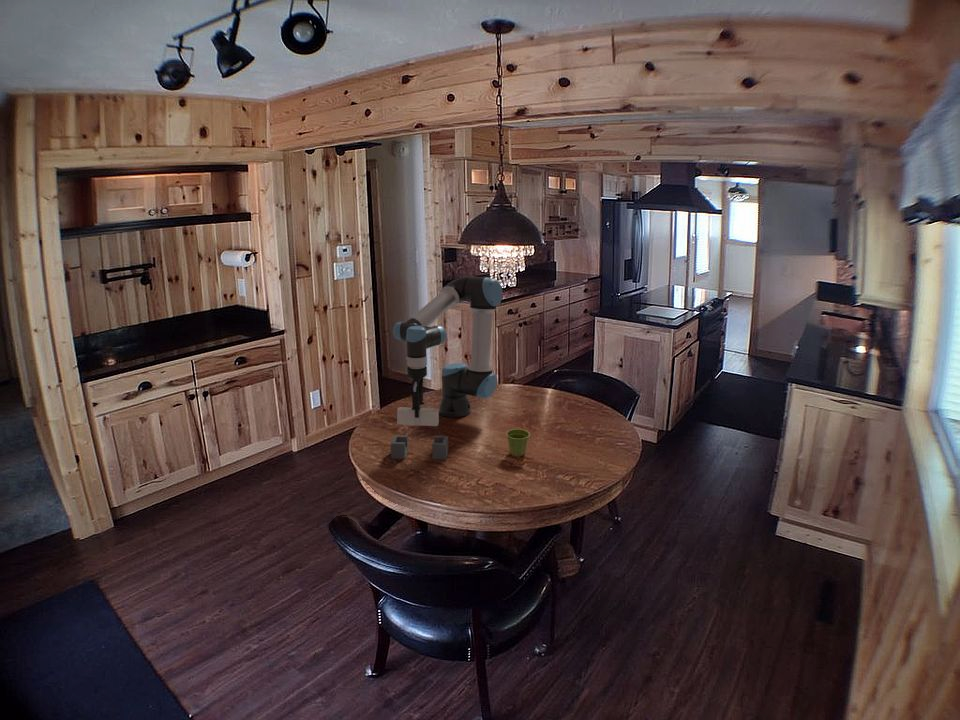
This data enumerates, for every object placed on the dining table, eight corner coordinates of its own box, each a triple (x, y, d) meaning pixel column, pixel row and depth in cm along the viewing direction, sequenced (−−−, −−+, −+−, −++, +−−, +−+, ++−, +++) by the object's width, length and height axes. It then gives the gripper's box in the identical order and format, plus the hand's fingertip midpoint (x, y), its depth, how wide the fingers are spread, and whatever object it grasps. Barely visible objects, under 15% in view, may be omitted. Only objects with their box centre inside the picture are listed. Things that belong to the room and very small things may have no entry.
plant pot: (529, 448, 244) (529, 429, 241) (529, 459, 235) (529, 439, 232) (506, 447, 244) (506, 428, 242) (505, 458, 235) (505, 438, 233)
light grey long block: (438, 422, 238) (438, 408, 236) (437, 426, 234) (437, 411, 233) (399, 421, 239) (398, 407, 237) (397, 424, 235) (397, 410, 234)
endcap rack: (448, 450, 242) (448, 436, 240) (446, 459, 235) (446, 444, 233) (394, 449, 243) (394, 435, 241) (391, 458, 236) (390, 443, 234)
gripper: (411, 359, 238) (412, 414, 244) (403, 372, 222) (405, 430, 229) (429, 360, 237) (430, 414, 244) (423, 373, 222) (424, 431, 228)
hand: (418, 422), depth 236 cm, fingers closed on light grey long block, 3 cm apart
